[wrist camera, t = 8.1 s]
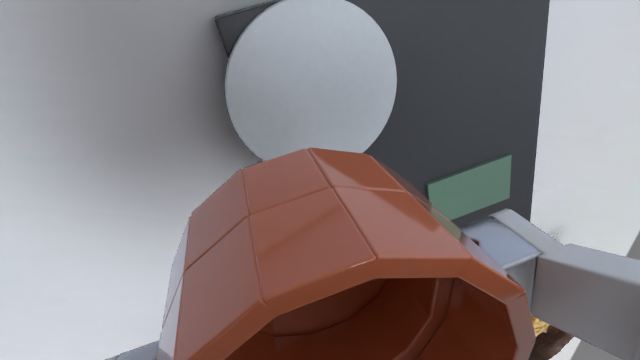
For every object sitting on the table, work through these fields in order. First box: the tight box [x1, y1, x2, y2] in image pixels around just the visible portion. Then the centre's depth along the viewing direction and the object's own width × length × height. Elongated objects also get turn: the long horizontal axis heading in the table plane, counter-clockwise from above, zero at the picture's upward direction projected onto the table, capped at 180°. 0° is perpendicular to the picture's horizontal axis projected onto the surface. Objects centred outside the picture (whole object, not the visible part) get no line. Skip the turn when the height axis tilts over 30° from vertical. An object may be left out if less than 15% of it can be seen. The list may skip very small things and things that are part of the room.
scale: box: [215, 0, 550, 227], centre depth 25 cm, size 22×21×3 cm
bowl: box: [156, 148, 536, 360], centre depth 8 cm, size 7×7×4 cm
